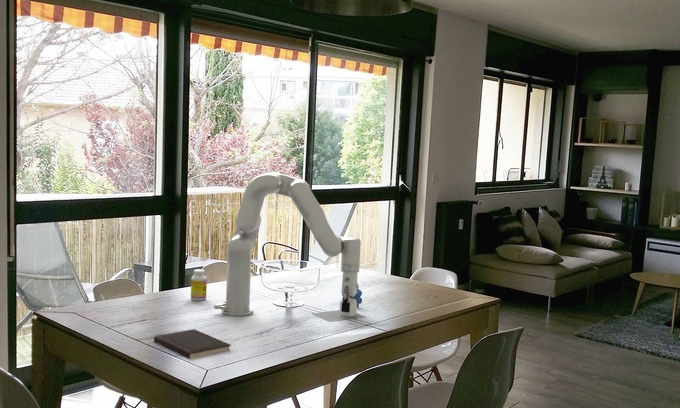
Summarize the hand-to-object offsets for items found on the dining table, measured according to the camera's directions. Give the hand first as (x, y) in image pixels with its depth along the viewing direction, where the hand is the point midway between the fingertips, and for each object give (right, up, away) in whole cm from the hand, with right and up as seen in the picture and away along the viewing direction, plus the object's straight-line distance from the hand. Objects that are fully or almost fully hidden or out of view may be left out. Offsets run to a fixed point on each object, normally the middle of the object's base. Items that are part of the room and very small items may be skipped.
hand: (347, 309), depth 277 cm
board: (-4, -4, -2) cm, 6 cm away
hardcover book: (-54, -6, -46) cm, 71 cm away
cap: (0, -2, 0) cm, 2 cm away
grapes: (+1, -2, +18) cm, 18 cm away
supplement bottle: (-65, +1, +19) cm, 68 cm away
